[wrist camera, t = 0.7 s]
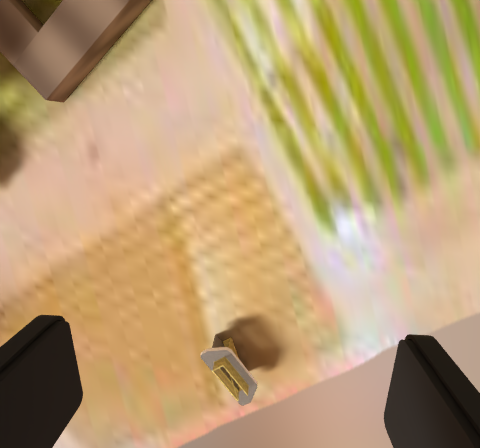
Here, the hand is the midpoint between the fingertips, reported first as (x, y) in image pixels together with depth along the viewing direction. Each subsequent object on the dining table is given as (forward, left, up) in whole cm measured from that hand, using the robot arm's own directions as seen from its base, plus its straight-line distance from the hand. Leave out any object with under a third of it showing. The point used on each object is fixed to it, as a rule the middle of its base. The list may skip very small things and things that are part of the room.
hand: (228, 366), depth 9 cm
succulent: (+18, +17, -30) cm, 39 cm away
